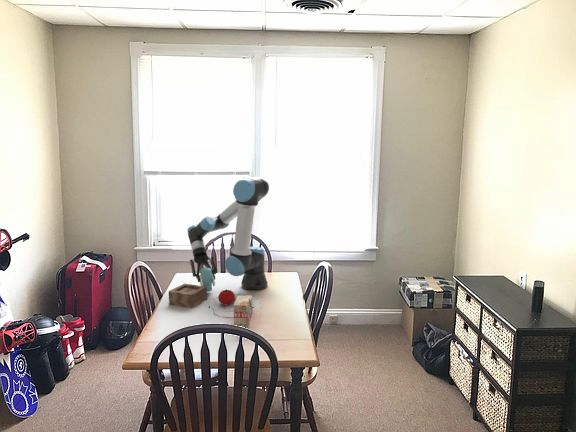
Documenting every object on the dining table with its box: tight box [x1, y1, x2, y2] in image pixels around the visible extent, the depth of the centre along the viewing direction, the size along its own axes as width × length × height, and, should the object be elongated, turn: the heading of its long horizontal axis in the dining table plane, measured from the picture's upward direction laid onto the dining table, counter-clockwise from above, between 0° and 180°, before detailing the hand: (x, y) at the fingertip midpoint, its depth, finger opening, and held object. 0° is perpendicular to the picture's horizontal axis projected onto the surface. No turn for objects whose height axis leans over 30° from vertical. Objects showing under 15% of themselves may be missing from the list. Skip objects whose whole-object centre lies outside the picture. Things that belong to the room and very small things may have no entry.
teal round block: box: [199, 267, 213, 293], centre depth 277 cm, size 6×6×12 cm
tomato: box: [217, 288, 236, 306], centre depth 261 cm, size 9×9×8 cm
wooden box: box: [168, 283, 208, 309], centre depth 264 cm, size 14×14×7 cm
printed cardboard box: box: [233, 295, 253, 329], centre depth 238 cm, size 21×6×12 cm, turn 178°
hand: (208, 285), depth 275 cm, fingers closed on teal round block, 6 cm apart
